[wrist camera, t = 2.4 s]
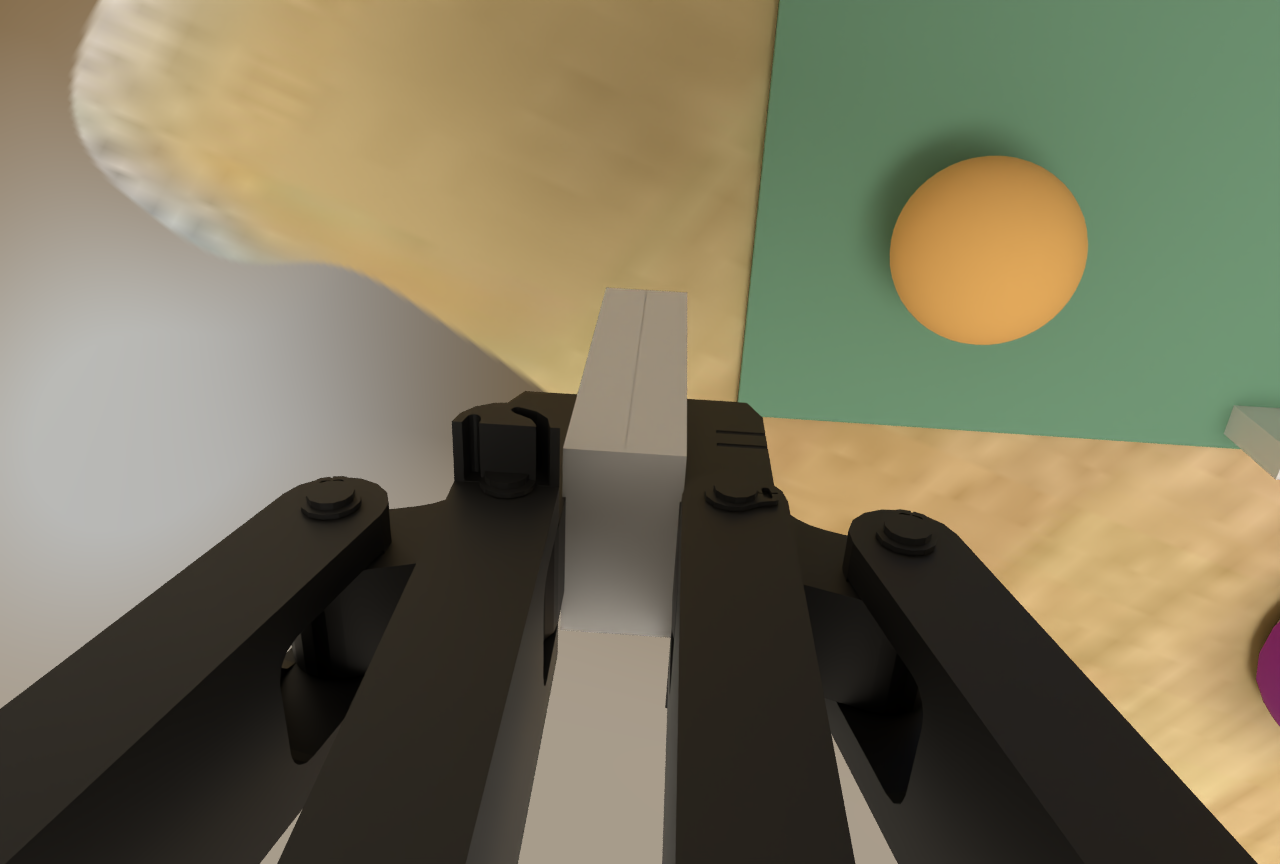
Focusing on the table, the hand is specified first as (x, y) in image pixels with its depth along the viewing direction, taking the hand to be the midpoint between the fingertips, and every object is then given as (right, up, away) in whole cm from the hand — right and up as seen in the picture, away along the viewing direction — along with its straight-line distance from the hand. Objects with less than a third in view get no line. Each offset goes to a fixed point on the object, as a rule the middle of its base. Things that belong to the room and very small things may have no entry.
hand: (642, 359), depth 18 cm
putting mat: (+16, +4, +10) cm, 20 cm away
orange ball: (+9, +3, +8) cm, 12 cm away
